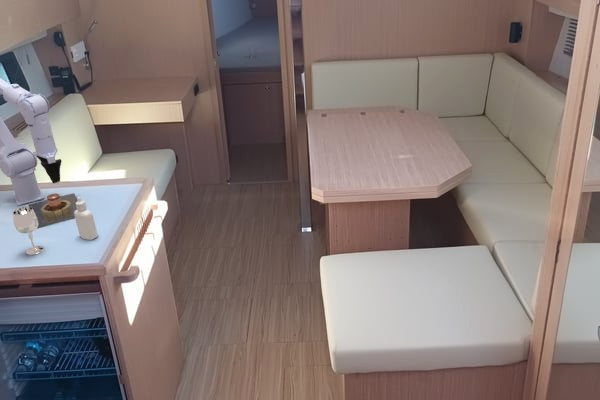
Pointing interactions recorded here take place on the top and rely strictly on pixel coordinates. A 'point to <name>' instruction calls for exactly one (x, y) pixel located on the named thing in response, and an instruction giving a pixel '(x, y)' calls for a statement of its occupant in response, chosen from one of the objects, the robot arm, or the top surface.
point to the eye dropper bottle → (85, 221)
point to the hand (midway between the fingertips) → (54, 178)
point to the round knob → (54, 202)
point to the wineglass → (27, 226)
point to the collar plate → (55, 216)
